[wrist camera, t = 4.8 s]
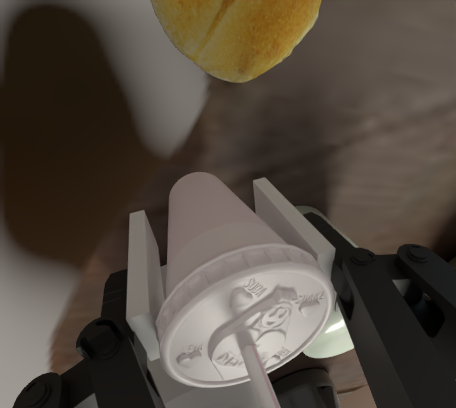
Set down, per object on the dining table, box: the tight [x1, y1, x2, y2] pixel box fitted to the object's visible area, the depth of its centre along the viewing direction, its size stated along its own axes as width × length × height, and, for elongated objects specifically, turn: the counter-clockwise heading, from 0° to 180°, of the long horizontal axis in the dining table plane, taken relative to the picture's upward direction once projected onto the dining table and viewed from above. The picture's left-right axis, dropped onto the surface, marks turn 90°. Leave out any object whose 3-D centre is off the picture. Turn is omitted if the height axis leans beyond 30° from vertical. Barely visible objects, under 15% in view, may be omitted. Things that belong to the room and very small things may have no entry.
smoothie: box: [156, 172, 335, 408], centre depth 11 cm, size 6×6×14 cm
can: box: [147, 264, 260, 408], centre depth 19 cm, size 8×8×12 cm
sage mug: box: [295, 206, 359, 358], centre depth 22 cm, size 10×8×9 cm
